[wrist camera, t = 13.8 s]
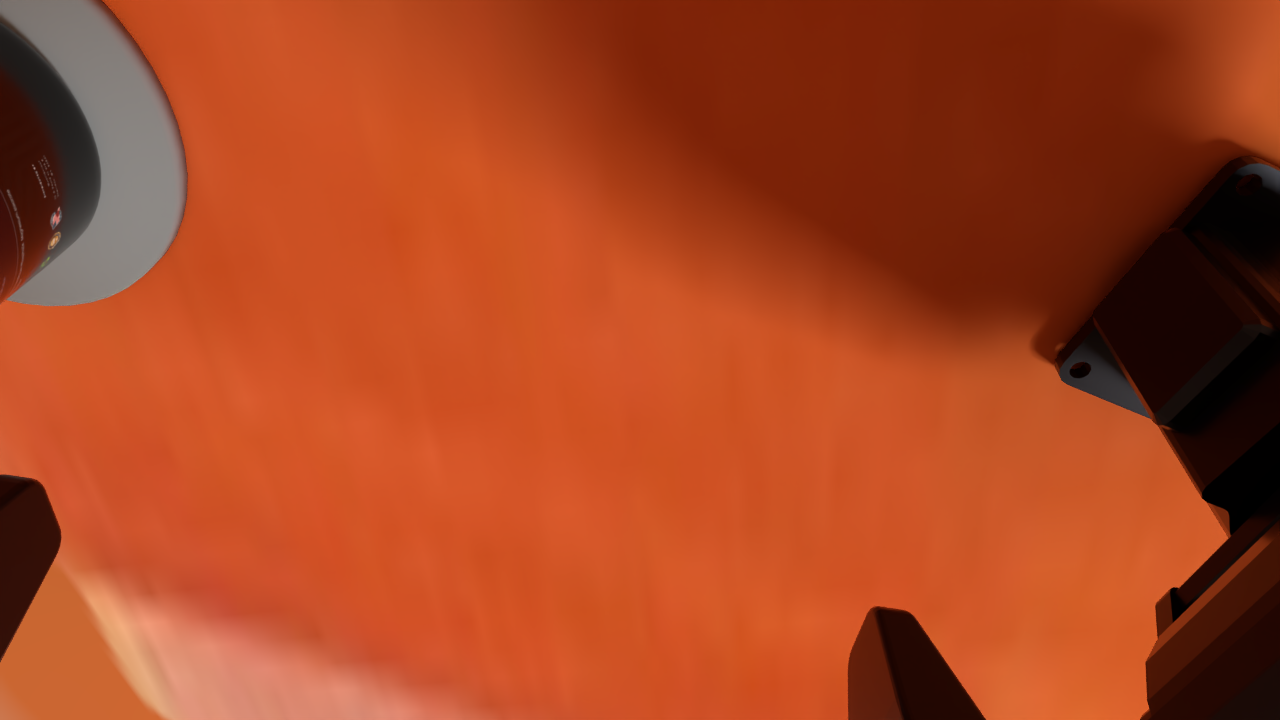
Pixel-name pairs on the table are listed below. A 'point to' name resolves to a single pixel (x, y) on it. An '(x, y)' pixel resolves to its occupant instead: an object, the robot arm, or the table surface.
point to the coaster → (108, 149)
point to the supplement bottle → (40, 165)
